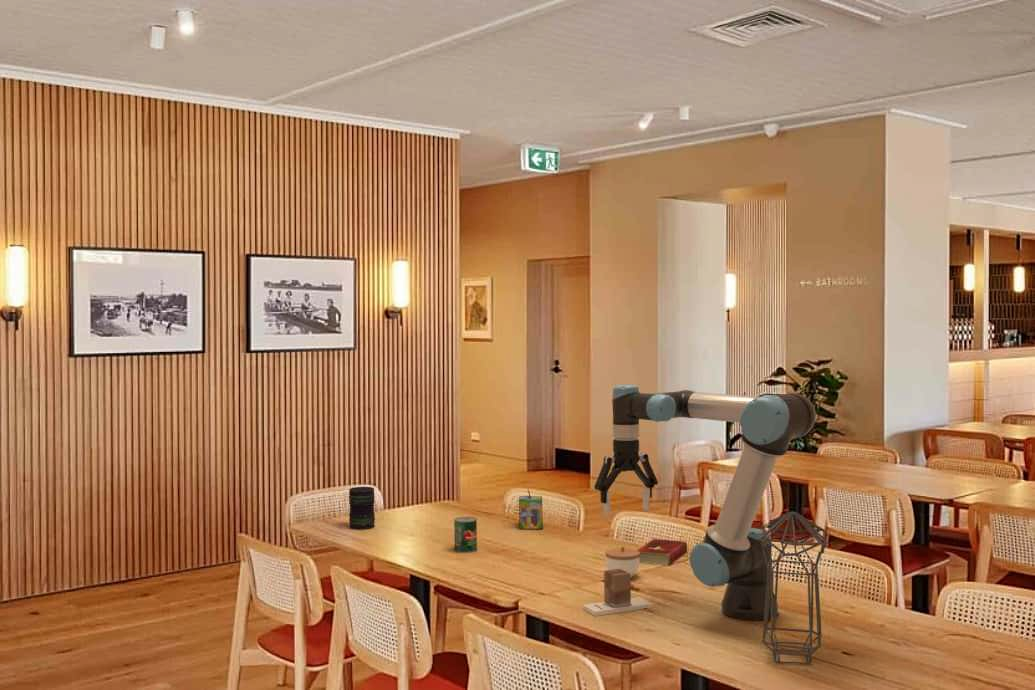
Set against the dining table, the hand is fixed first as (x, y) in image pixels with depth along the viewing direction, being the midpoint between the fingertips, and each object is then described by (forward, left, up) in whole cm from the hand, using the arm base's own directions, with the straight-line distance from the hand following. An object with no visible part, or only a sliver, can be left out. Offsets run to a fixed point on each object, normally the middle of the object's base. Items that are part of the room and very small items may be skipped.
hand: (626, 512), depth 286 cm
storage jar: (+128, +45, -25) cm, 137 cm away
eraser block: (-8, +8, -24) cm, 26 cm away
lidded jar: (+21, -10, -25) cm, 34 cm away
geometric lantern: (-60, -10, -25) cm, 66 cm away
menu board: (-8, +8, -25) cm, 27 cm away
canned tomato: (+75, +22, -25) cm, 82 cm away
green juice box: (+99, -14, -25) cm, 103 cm away
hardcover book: (+37, -34, -26) cm, 57 cm away
